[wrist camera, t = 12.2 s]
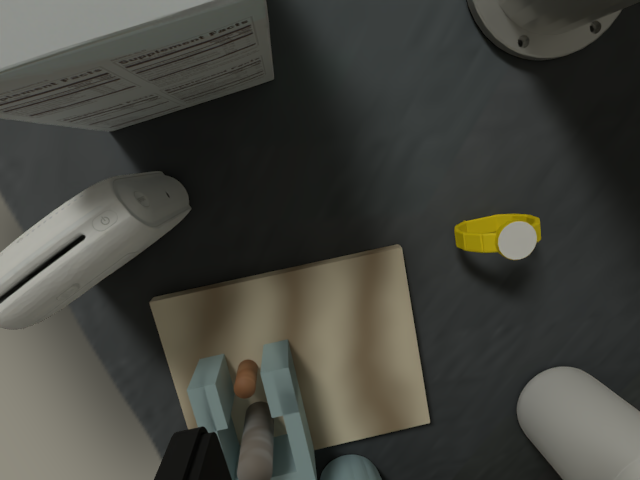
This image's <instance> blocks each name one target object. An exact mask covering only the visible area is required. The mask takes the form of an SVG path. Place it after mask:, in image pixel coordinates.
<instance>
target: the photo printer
mask: <svg viewBox="0 0 640 480" xmlns="http://www.w3.org/2000/svg"><path fill="white" fill-rule="evenodd" d="M190 210H191V207H190V206H189V197H188V194H187V191H186V189H185V188H184V186H183V185H182V184H181V183H180V182H179V181H178V180H176V179H174V178H172V177H170V176H166V175H164V173H163V172H161V171H153V172H144V173H137V174H129V175H121V176H115V177H111V178H108V179H106V180H103V181H101V182H99V183H97V184H95V185H93V186H91V187H89V188H87V189H86V190H84V191H82V192H81V193H79V194H78V195H76V196H75V197H73V198H72V199H70V200H69V201H67V202H66V203H64V204H63V205H61V206H60V207H58V208H57V209H56V210H54V211H53V212H51V213H50V214H49V215H47V216H46V217H44V218H43V219H42V220H40V221H39V222H38V223H36V224H35V225H34V226H32V227H31V228H30V229H29V230H27V231H26V232H25V233H23V234H22V235H21V236H20V237H18V238H17V239H16V240H15V241H14V242H13V243H11V244H10V245H9V246H8V247H6V248H5V249H4V250H3V251H2V252H0V327H2V328H5V329H13V330H14V329H22V328H26V327H29V326H32V325H34V324H36V323H39V322H41V321H43V320H45V319H47V318H49V317H50V316H52V315H53V314H55V313H56V312H58V311H60V310H62V309H63V308H64V307H65V306H67V305H68V304H69V303H71V302H72V301H74V300H75V299H77V298H78V297H79V296H81V295H82V294H84V293H85V292H86V291H88V290H89V289H91V288H92V287H93V286H95V285H96V284H97V283H99V282H100V281H101V280H103V279H104V278H106V277H107V276H108V275H110V274H112V273H114V272H115V271H116V270H117V269H119V268H120V267H122V266H123V265H124V264H126V263H127V262H129V261H130V260H131V259H133V258H134V257H136V256H137V255H138V254H140V253H141V252H142V251H144V250H145V249H146V248H148V247H149V246H150V245H152V244H153V243H154V242H156V241H157V240H158V239H160V238H161V237H162V236H163V235H165V234H166V233H167V232H168V231H170V230H172V228H173V227H174V226H176V225H177V224H178V223H179V222H180V221H182V220H183V218H184V217H185V216H186V215H187V214H188V213H189V212H190Z"/></svg>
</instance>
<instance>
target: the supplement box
mask: <svg viewBox="0 0 640 480" xmlns="http://www.w3.org/2000/svg"><path fill="white" fill-rule="evenodd" d="M273 79H274V70H273V60H272V50H271V41H270V29H269V18H268V11H267V3H266V0H0V118H2V119H11V120H19V121H27V122H34V123H42V124H50V125H58V126H66V127H74V128H82V129H91V130H100V131H109V132H110V131H115V130H118V129H121V128H124V127H127V126H131V125H134V124H137V123H140V122H143V121H147V120H150V119H153V118H156V117H159V116H163V115H166V114H169V113H172V112H175V111H178V110H181V109H185V108H188V107H191V106H194V105H197V104H200V103H203V102H207V101H210V100H213V99H216V98H219V97H222V96H225V95H228V94H232V93H235V92H238V91H241V90H244V89H247V88H250V87H253V86H256V85H259V84H262V83H265V82H268V81H271V80H273Z"/></svg>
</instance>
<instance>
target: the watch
mask: <svg viewBox="0 0 640 480" xmlns="http://www.w3.org/2000/svg"><path fill="white" fill-rule="evenodd" d="M493 232H495V233H493ZM455 239H456V246H457V247H458V248H460V249H463V250H465V251H470V252H480V253H483V252H484V253H492V252H498V253H499V254H501V255H502V256H503V257H505V258H507V259H511V260H520V259H523V258H525V257H527V256H528V255H529V254H531V252H532V251H533V250H534V248H535V246H536V243H537V242H539V241H540V240H541V230H540V219H539V218H538V217H535V216H532V215H527V214H498V215H493V216H488V217H483V218H479V219H474V220H469V221H464V222H461V223H460V224H458V225H456V226H455Z"/></svg>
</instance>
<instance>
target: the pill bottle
mask: <svg viewBox="0 0 640 480" xmlns="http://www.w3.org/2000/svg"><path fill="white" fill-rule="evenodd" d="M517 418H518V422H519V424H520V426H521V428H522V430H523V431H524V433H525V435H526V436H527V437H528V438H529V440H530V441H531V442H532V443H533V444H534V446H535V447H536V448H537V449H538V450H539V452H540V453H541V454H542V455H543V456H544V457H545V459H546V460H547V461H548V462H549V463H550V465H551V466H552V467H553V468H554V469H555V471H556V472H557V473H558V474H559V475H560V477H561V478H562V479H563V480H640V412H639V411H638V410H637V409H635V408H634V407H633V406H631V405H630V404H629V403H627V402H626V401H625V400H623V399H622V398H621V397H619V396H618V395H617V394H615V393H614V392H613V391H611V390H610V389H609V388H607V387H606V386H605V385H603V384H602V383H601V382H599V381H598V380H596V379H595V378H594V377H592V376H591V375H589V374H587V373H586V372H584V371H582V370H580V369H577V368H573V367H554V368H551V369H548V370H545V371H543V372H541V373H539V374H538V375H536V376H535V377H534V378H533V379H531V380H530V381H529V382H528V383H527V385H526V386H525V387H524V389H523V390H522V392H521V394H520V396H519V399H518V403H517Z"/></svg>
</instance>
